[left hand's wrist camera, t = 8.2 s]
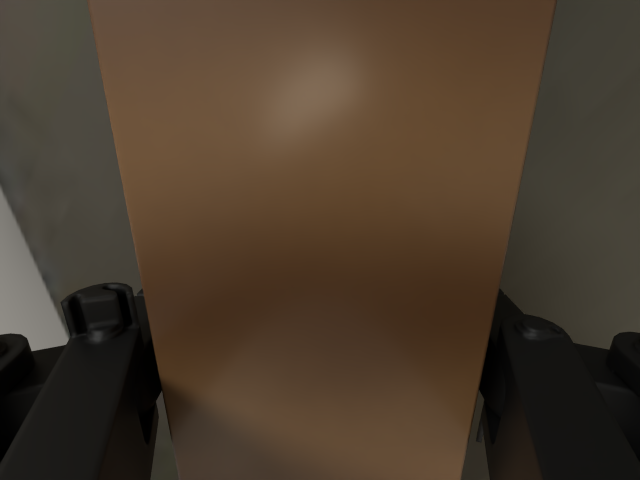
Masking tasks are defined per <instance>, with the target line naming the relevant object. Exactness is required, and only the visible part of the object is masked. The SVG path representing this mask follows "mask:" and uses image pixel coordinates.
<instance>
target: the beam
mask: <svg viewBox="0 0 640 480" xmlns="http://www.w3.org/2000/svg"><path fill="white" fill-rule="evenodd" d="M87 2H88V7H89V12H90V17H91V23H92V28H93V33H94V38H95V43H96V49H97V54H98V59H99V64H100V70H101V75H102V80H103V85H104V90H105V96H106V101H107V106H108V111H109V116H110V122H111V127H112V132H113V137H114V142H115V148H116V153H117V158H118V163H119V169H120V174H121V179H122V184H123V189H124V195H125V200H126V205H127V210H128V215H129V221H130V226H131V231H132V236H133V241H134V247H135V252H136V257H137V262H138V268H139V273H140V278H141V283H142V288H143V294H144V299H145V304H146V309H147V314H148V320H149V325H150V330H151V335H152V340H153V346H154V351H155V356H156V361H157V367H158V372H159V377H160V382H161V387H162V393H163V398H164V403H165V408H166V413H167V419H168V424H169V429H170V434H171V439H172V445H173V450H174V455H175V460H176V466H177V471H178V476H179V480H461V476H462V471H463V466H464V461H465V456H466V451H467V446H468V441H469V436H470V431H471V426H472V421H473V416H474V411H475V406H476V401H477V396H478V391H479V386H480V381H481V376H482V371H483V366H484V361H485V357H486V352H487V347H488V342H489V337H490V332H491V327H492V322H493V317H494V312H495V307H496V302H497V297H498V292H499V287H500V282H501V277H502V272H503V267H504V262H505V257H506V252H507V247H508V242H509V237H510V232H511V227H512V222H513V217H514V212H515V207H516V203H517V198H518V193H519V188H520V183H521V178H522V173H523V168H524V163H525V158H526V153H527V148H528V143H529V138H530V133H531V128H532V123H533V118H534V113H535V108H536V103H537V98H538V93H539V88H540V83H541V78H542V73H543V68H544V63H545V58H546V53H547V48H548V44H549V39H550V34H551V29H552V24H553V19H554V14H555V9H556V4H557V0H87Z"/></svg>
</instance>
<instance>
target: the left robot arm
mask: <svg viewBox="0 0 640 480" xmlns="http://www.w3.org/2000/svg"><path fill="white" fill-rule="evenodd" d="M61 305H62V309H63V312H64V316H65V319H66V322H67V326H68V329H69V333H70V336H71V337H70V339H69V341H68V343H67V344H66V345H64V346H58V347H53V348H48V349H42V350H37V351H31V348H30V346H29V343H28V340H27V338H26V337H24V336H23V335H21V334H3V335H0V480H150V477H151V470H152V463H153V456H154V448H155V441H156V434H157V426H158V419H159V415H158V409H157V404H156V400H157V398H158V396H159V395H160V393H161V391H162V387H161V382H160V377H159V372H158V367H157V361H156V356H155V351H154V346H153V340H152V335H151V330H150V325H149V320H148V314H147V309H146V304H145V299H144V294H143V288H142V289H141V290H140V291H139V292H138V293H137V296H135V297H134V295H133V290H132V287H130V286H128V285H127V284H122V283H103V284H98V285H93V286H90V287H87V288H84V289H81V290H78V291H76V292H74V293H72V294H70V295H69V296H67V297H66V298H65V299H64V300H63V301H62V302H61ZM479 390H480V392H481V394H482V396H483V398H484V404H483V409H482V414H481V418H480V423H479V428H478V432H477V439H476V441H477V442H481V441H482V437H483V434H484V440H485V447H486V455H487V462H488V469H489V476H490V480H640V333H636V332H623V333H619V334H617V335H616V336H614V338H613V341H612V344H611V347H610V350H607V349H602V348H597V347H591V346H586V345H580V344H576V343H573V342H572V340H571V338H570V336H569V335H568V334H567V333H566V332H565V331H564V330H563V329H562V328H561V327H559V326H557V325H556V324H554V323H553V322H550V321H548V320H545V319H543V318H540V317H536V316H532V315H526V314H523V313H522V311H521V310H520V309H519V308H518V307H517V306H516V305H515V304H514V303H513V302H512V301H511V300H510V299H509V298H508V297H507V296H506V295H504V293H503V292H502V290H501V289H500V288H499V292H498V297H497V302H496V307H495V312H494V317H493V322H492V327H491V332H490V337H489V342H488V347H487V352H486V357H485V361H484V366H483V371H482V376H481V381H480V386H479Z"/></svg>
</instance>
